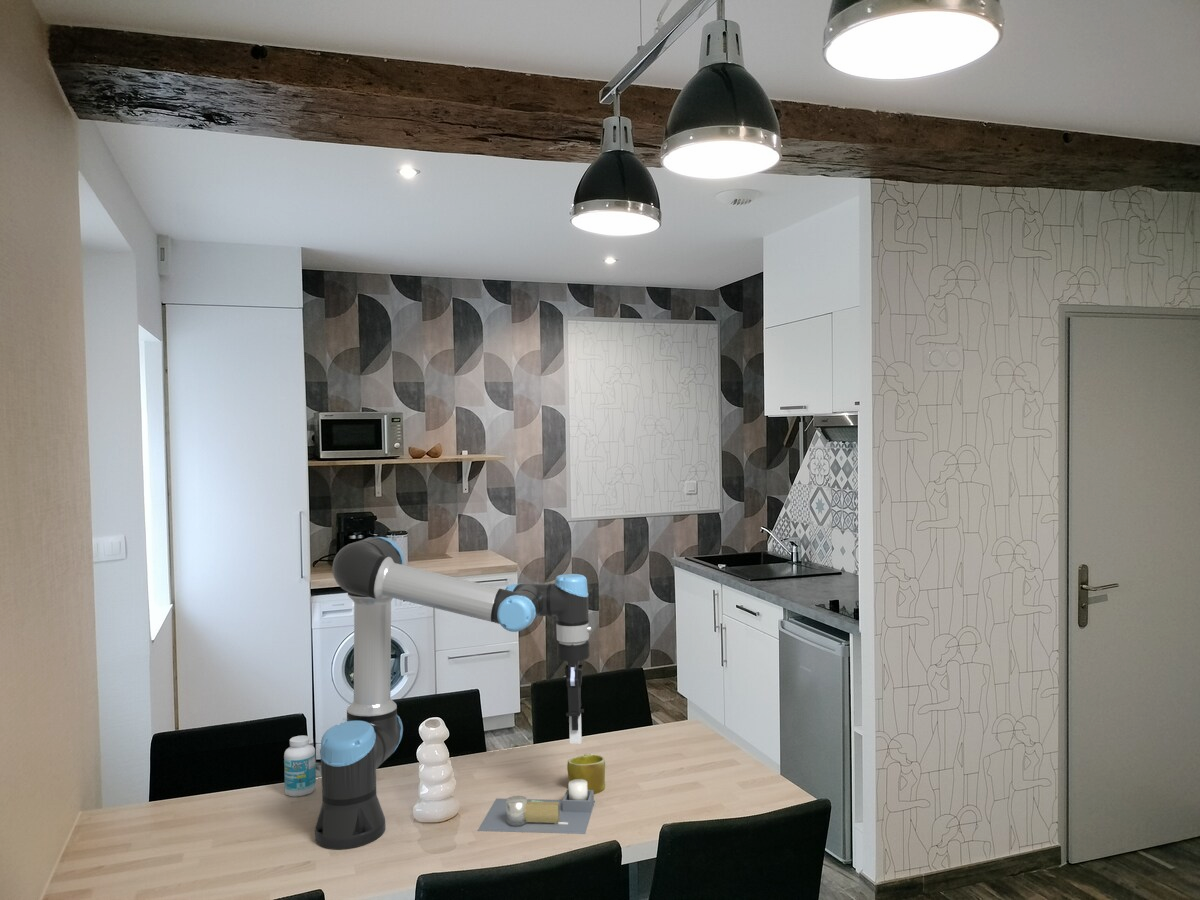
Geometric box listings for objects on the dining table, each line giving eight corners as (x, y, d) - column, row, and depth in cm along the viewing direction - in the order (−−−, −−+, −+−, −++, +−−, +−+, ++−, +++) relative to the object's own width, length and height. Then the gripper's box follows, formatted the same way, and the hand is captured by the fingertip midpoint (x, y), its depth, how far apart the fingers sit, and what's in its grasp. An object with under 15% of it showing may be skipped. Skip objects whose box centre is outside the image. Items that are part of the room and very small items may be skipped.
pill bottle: (278, 797, 208) (277, 743, 208) (294, 785, 215) (293, 732, 215) (306, 798, 206) (305, 744, 206) (321, 786, 214) (320, 733, 214)
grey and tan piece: (504, 825, 185) (504, 804, 185) (509, 816, 189) (509, 795, 189) (557, 827, 184) (556, 805, 183) (560, 817, 188) (560, 796, 188)
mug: (607, 795, 199) (595, 752, 201) (568, 806, 201) (557, 763, 203) (620, 785, 210) (608, 745, 213) (582, 795, 212) (572, 755, 215)
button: (567, 805, 193) (567, 786, 193) (570, 797, 197) (570, 778, 197) (586, 806, 192) (585, 786, 192) (589, 798, 197) (588, 779, 197)
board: (477, 836, 183) (476, 819, 183) (496, 803, 200) (495, 788, 200) (585, 839, 181) (584, 822, 181) (595, 805, 197) (594, 790, 197)
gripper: (588, 647, 188) (590, 752, 188) (590, 634, 201) (592, 732, 201) (554, 648, 188) (557, 752, 188) (559, 635, 201) (561, 733, 201)
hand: (575, 742), depth 194 cm, fingers closed
